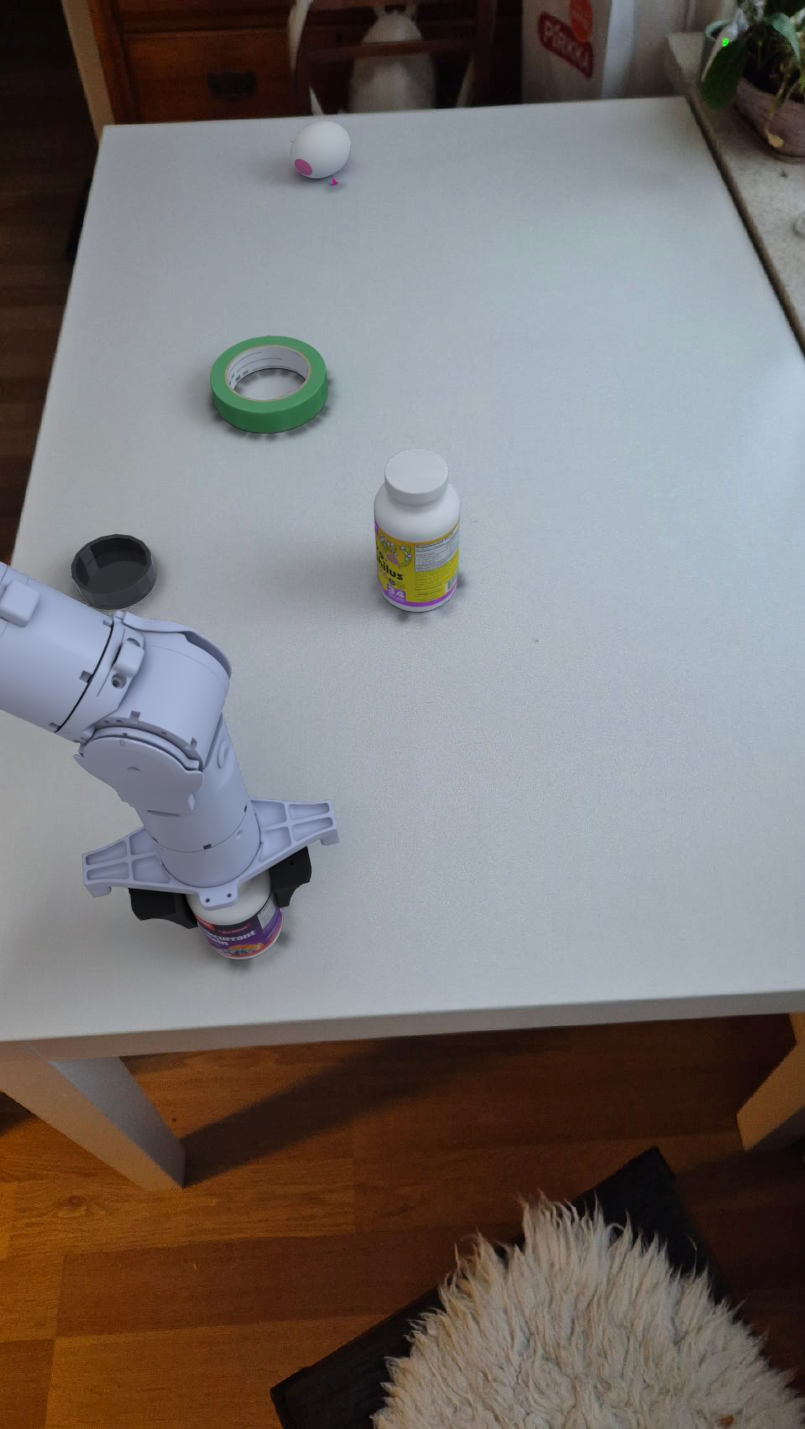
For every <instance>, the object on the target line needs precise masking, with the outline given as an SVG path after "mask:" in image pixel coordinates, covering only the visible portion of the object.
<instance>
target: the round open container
mask: <svg viewBox="0 0 805 1429" xmlns="http://www.w3.org/2000/svg"><path fill="white" fill-rule="evenodd" d="M70 575H71V579H72V581H73V583H74V585H75V588H76V590H77V591H78V593H79V595H80V596H81V598H82V599H83V600H84V602H86V603H87V604H89V605H91V606H92V607H94V608H99V609H102V610H119V609H124V608H127V607H130V606H133V605H135V604H136V603H139V602H140V601H142V599H144V598H145V597H147V595H148V594H149V593H150V592H151V591H152V589H153V587H154V585H155V583H156V579H157V570H156V566H155V561H154V558H153V555H152V552H151V550H150V548H149V547H148V546H147V545H146V543H145V542H144V541H143V540H141V539H140V538H137V537H135V536H133V535H131V534H120V533H114V534H108V535H102V536H99V537H97V538H95V539H93V540H91V541H88V542H87V543H86V544H84V545H83V546H82V547H81V548H80V549H79V550H78V551H77V552H76V553H75V555H74V557H73V560H72V561H71V564H70Z"/></svg>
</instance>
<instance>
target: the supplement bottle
mask: <svg viewBox="0 0 805 1429" xmlns="http://www.w3.org/2000/svg"><path fill="white" fill-rule="evenodd" d="M383 472H384V483H382V485H381V486H380V487H379V489H378V490H377V492H376V494H375V496H374V500H373V520H374V522H373V523H374V537H375V538H374V539H375V554H376V557H375V558H376V571H377V572H376V573H377V583H378V588H379V590H380V592H381V594H382V596H383V597H384V598H385V599H386V601H387V602H388V603H390V604H391V605H393V606H394V607H395V608H398V609H401V610H403V611H407V612H413V613H414V612H415V613H421V612H429V611H432V610H435V609H437V608H439V607H441V606H443V605H444V604H445V603H447V602H448V601H449V600H450V599H451V597H452V596H453V595H454V594H455V591H456V589H457V586H458V579H459V559H460V558H459V557H460V556H459V555H460V554H459V553H460V527H461V525H460V524H461V500H460V499H461V498H460V496H459V493H458V491H457V490H456V488H455V486H454V485H453V484H452V483H451V482H450V480H449V468H448V465H447V462H446V460H445V459H444V458H443V457H442V456H441V455H440V454H438V453H437V452H434V451H432V450H429V449H425V448H409V449H405V450H404V449H403V450H402V451H399V452H397V453H395V454H394V455H392V456H391V457H390V458H389V460H388V461H387V462H386V464H385V467H384V471H383Z"/></svg>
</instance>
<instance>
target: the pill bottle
mask: <svg viewBox="0 0 805 1429" xmlns="http://www.w3.org/2000/svg"><path fill="white" fill-rule="evenodd" d="M185 895H186V899H187V902H188V904H189V906H190V908H191V910H192V912H193V914H194V915H195V917H196V920H197V922H198V926H199V927H200V930H201V931H202V933H203V936H204V938H205V940H206V942H207V943H208V945H210V947H211V948H212V949H213V950H214V952H216V953H218V954H219V955H221V956H223V957H225V958H228V959H232V960H248V959H249V960H250V959H252V958H255V957H258V956H260V955H262V954H264V953H265V952H267V951H268V950H269V949H271V947H272V946H273V945H274V944H275V943H276V941H277V939H278V938H279V936H280V934H281V932H282V929H283V923H284V913H283V908H279V907H278V902H277V897H276V892H275V891H273V888H272V883H271V877H270V872H269V868H268V869H266V870H265V871H263V872H261V873H260V874H258V875H256V876H255V877H253V878H251V879H249V880H248V881H246V882H244V883H243V884H241V885H240V886H239V888H238V896H239V897H238V901H237V903H236V904H235V905H233V906H231V907H227V908H223V909H218V910H214V911H206V910H204V909H203V907H202V905H201V903H200V901H199V896H198V895H195V894H185Z"/></svg>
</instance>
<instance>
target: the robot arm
mask: <svg viewBox="0 0 805 1429" xmlns="http://www.w3.org/2000/svg"><path fill="white" fill-rule="evenodd" d="M232 674H233V668H232V664H231V661H230V659H229V657H228V656H227V654H226V653H225V651H224V650H222V649H221V647H219V645H217V644H216V643H215V642H213V641H212V640H211V639H209V638H208V637H207V636H205V635H203V634H201V633H200V632H198V631H197V630H196V629H195V628H193V627H191V626H188V625H185V624H184V623H183V624H182V623H179V622H176V621H171V620H166V619H158V618H145V617H141V616H138V615H135V614H133V613H132V612H129V611H126V612H124V611H122V610H119V609H116V610H115V611H114V612H113V613H112V614H111V616H108V615H106V614H104V613H102V612H100V611H98V610H96V609H94V608H92V607H91V606H89V605H87V604H85V603H83V602H81V601H79V600H77V599H75V598H73V597H71V596H69V595H67V594H66V593H63V592H61V591H60V590H57V589H55V588H53V587H52V586H49V585H48V584H45V583H44V582H42V581H40V580H37V579H36V578H34V577H32V576H30V575H28V574H26V573H24V572H22V571H20V570H19V569H16V568H14V567H12V566H11V565H8V564H6V563H4V562H3V561H0V710H1V711H3V712H5V713H7V714H9V715H12V716H14V717H16V718H18V719H21V720H23V721H25V722H27V723H30V724H32V725H34V726H36V727H38V728H41V729H44V730H46V731H48V732H49V733H51V734H52V733H53V734H54V735H56V736H59V737H61V738H63V739H65V740H68V741H69V742H72V743H73V744H74V743H75V744H79V748H78V750H77V753H75V754H73V757H72V758H73V759H74V760H75V761H76V763H77V764H78V765H79V766H80V767H81V768H82V769H83V770H84V771H85V772H87V773H88V774H90V775H91V776H93V777H95V778H96V779H97V780H99V781H101V782H103V783H105V784H106V785H108V786H110V787H111V788H112V789H113V790H114V791H115V792H116V793H117V795H118V797H119V798H120V800H121V802H122V803H127V804H128V806H129V807H131V808H133V809H134V810H135V812H136V813H137V815H138V818H139V819H140V821H141V823H142V826H141V827H139V828H137V829H135V830H133V831H132V832H130V833H128V834H126V835H124V836H122V837H121V838H119V839H117V840H116V841H113V842H111V843H109V844H107V845H105V846H103V847H101V848H97V849H95V850H90V851H87V852H83V853H82V854H81V864H82V865H81V866H82V880H83V882H82V883H83V885H84V887H85V888H86V890H87V891H88V893H89V894H90V895H91V897H92V898H93V899H94V898H101V897H103V896H107V895H110V894H111V893H112V888H113V887H115V888H127V890H128V894H129V898H130V905H131V906H130V908H131V911H132V913H133V914H134V916H135V917H136V919H137V920H139V921H141V922H142V921H147V920H148V921H149V920H163V921H168V922H171V923H174V924H176V925H179V926H180V927H184V928H185V929H187V930H191V929H196V928H199V924H198V922H197V920H196V917H195V915H194V914H193V912H192V910H191V908H190V906H189V904H188V902H187V899H186V895H185V894H195V895H198V896H199V901H200V903H201V905H202V907H203V909H204V910H206V911H214V910H218V909H223V908H227V907H231V906H233V905H235V904H236V903H237V901H238V897H239V896H238V888H239V886H240V885H241V884H243V883H244V882H246V881H248V880H249V879H251V878H253V877H255V876H256V875H258V874H260V873H261V872H263V871H265V870H266V869H268V868H269V872H270V877H271V883H272V888H273V891H275V892H276V897H277V902H278V907H279V908H282V909H283V908H288V907H289V906H290V905H291V899H292V897H293V895H294V893H295V891H296V890H297V889H298V888H299V887H301V886H303V885H305V884H309V883H311V879H312V873H313V866H312V862H311V861H312V860H311V857H310V856H311V855H310V851H309V847H308V846H309V845H311V844H312V843H315V842H317V841H319V840H320V844H321V845H322V846H332V845H335V844H340V841H341V840H340V835H339V829H338V824H337V820H336V815H335V810H334V806H333V802H332V799H331V798H330V799H329V798H328V799H324V800H318V801H296V800H295V801H294V800H285V799H274V798H273V799H272V798H265V797H264V798H263V797H252V796H250V794H249V792H248V788H247V786H246V782H245V779H244V776H243V773H242V769H241V766H240V763H239V760H238V756H237V753H236V751H235V747H234V744H233V741H232V737H231V734H230V732H229V728H228V725H227V722H226V719H225V716H224V714H223V712H222V711H223V708H224V706H225V703H226V699H227V696H228V692H229V689H230V680H231V678H232Z"/></svg>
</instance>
